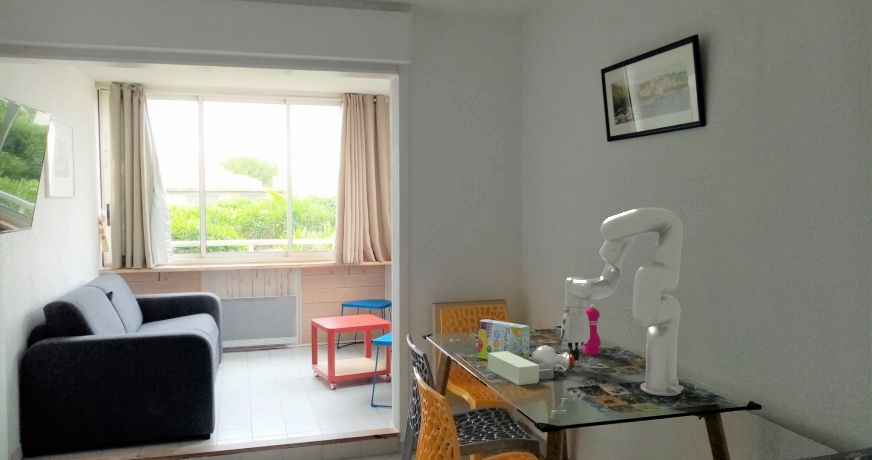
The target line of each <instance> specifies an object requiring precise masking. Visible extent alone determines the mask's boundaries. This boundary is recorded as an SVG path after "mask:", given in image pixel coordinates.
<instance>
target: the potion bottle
mask: <svg viewBox="0 0 872 460" xmlns="http://www.w3.org/2000/svg"><path fill="white" fill-rule="evenodd" d="M531 360H532V362H533V363H535V364H537V365H539V370H542V369H551V368H552V369H554V368H555V367H561V368H562V369H563V370H564V371H566V370H567V369H569V371H573V369H574V368H575V361H574V355H573V354H572V353H571V354H570V353H568V352H567V351H565V352H563V353H561V354H559V353H557V352H556V350H555V349H554V347H552V346H549V345H547V344H544V345H540V346H537V347H536V348H535V350H534V351H533V352H532V355H531Z"/></svg>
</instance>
